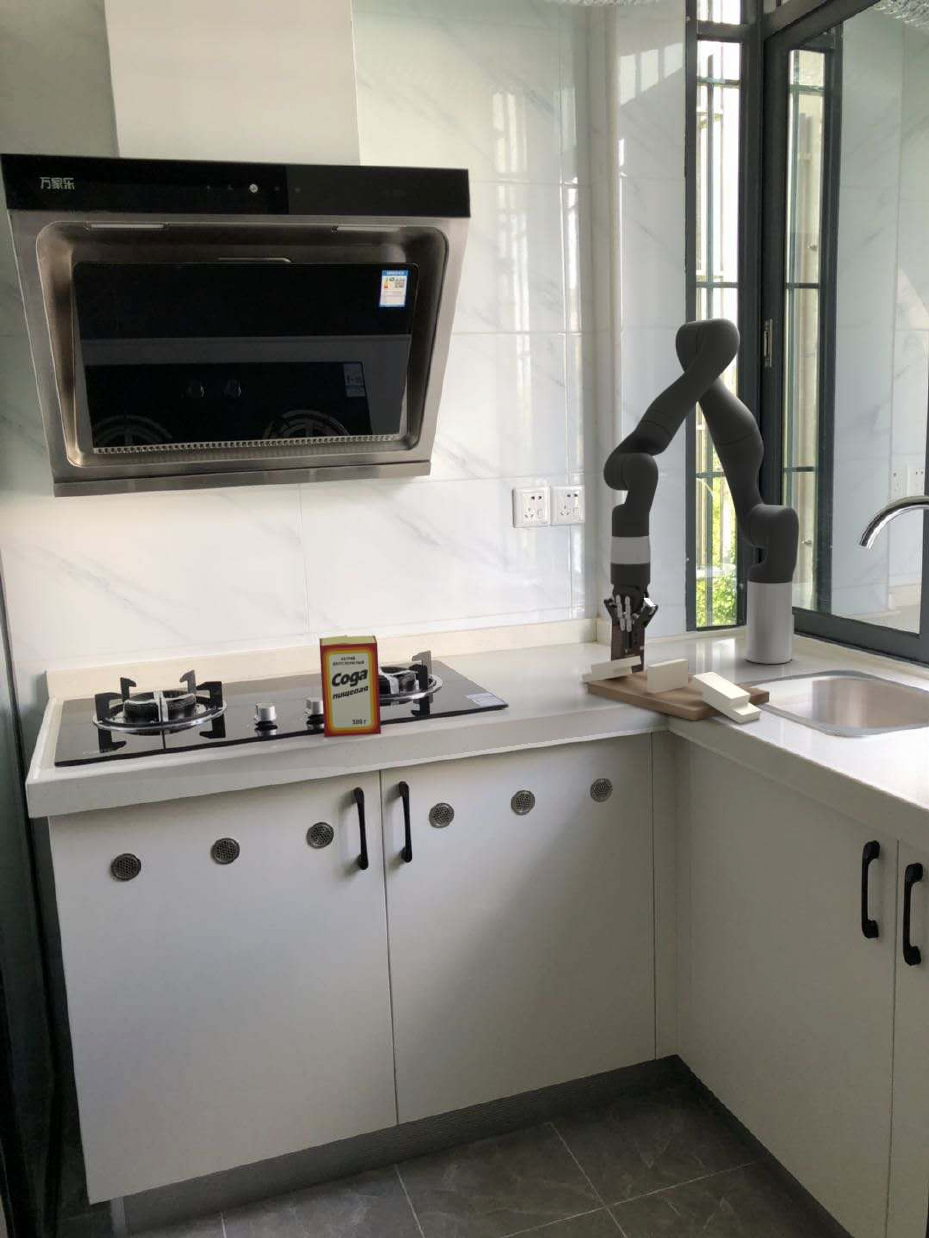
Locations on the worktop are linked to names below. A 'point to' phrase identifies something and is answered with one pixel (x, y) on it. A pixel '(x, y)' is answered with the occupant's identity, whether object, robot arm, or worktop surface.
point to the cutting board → (665, 696)
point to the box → (621, 653)
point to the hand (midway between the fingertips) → (630, 649)
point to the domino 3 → (667, 676)
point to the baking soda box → (350, 685)
